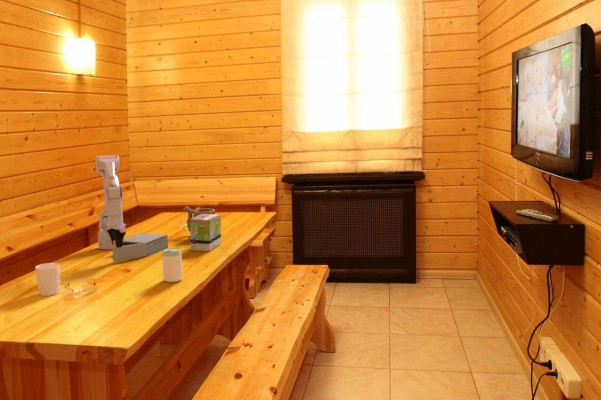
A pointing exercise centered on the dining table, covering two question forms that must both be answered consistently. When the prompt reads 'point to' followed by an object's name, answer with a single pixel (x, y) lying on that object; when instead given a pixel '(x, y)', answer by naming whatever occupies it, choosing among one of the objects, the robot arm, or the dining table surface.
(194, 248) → the tea box
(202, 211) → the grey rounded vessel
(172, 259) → the can
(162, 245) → the carton
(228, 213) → the dining table surface
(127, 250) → the grey drawer
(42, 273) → the white cup
